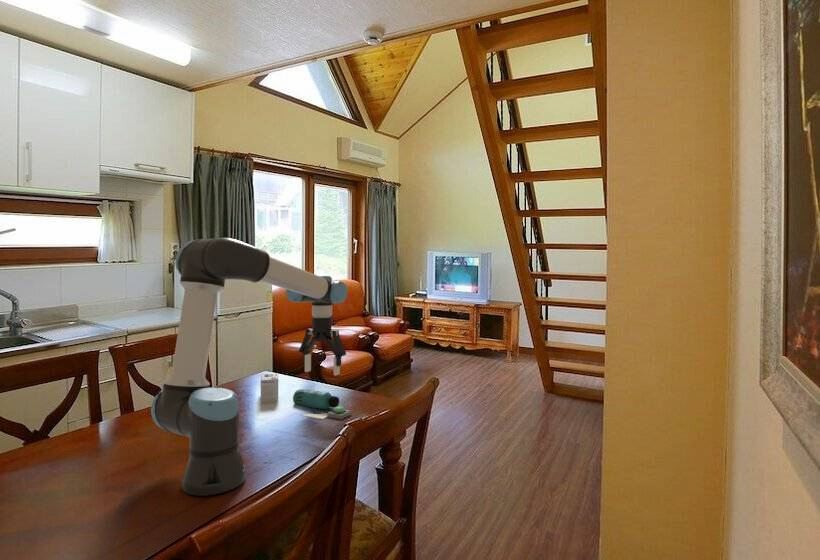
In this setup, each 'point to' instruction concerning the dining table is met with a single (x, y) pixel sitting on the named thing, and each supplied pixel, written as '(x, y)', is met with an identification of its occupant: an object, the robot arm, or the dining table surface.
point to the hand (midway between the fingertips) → (322, 373)
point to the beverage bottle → (315, 399)
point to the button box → (339, 416)
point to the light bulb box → (269, 388)
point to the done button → (339, 409)
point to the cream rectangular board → (316, 416)
